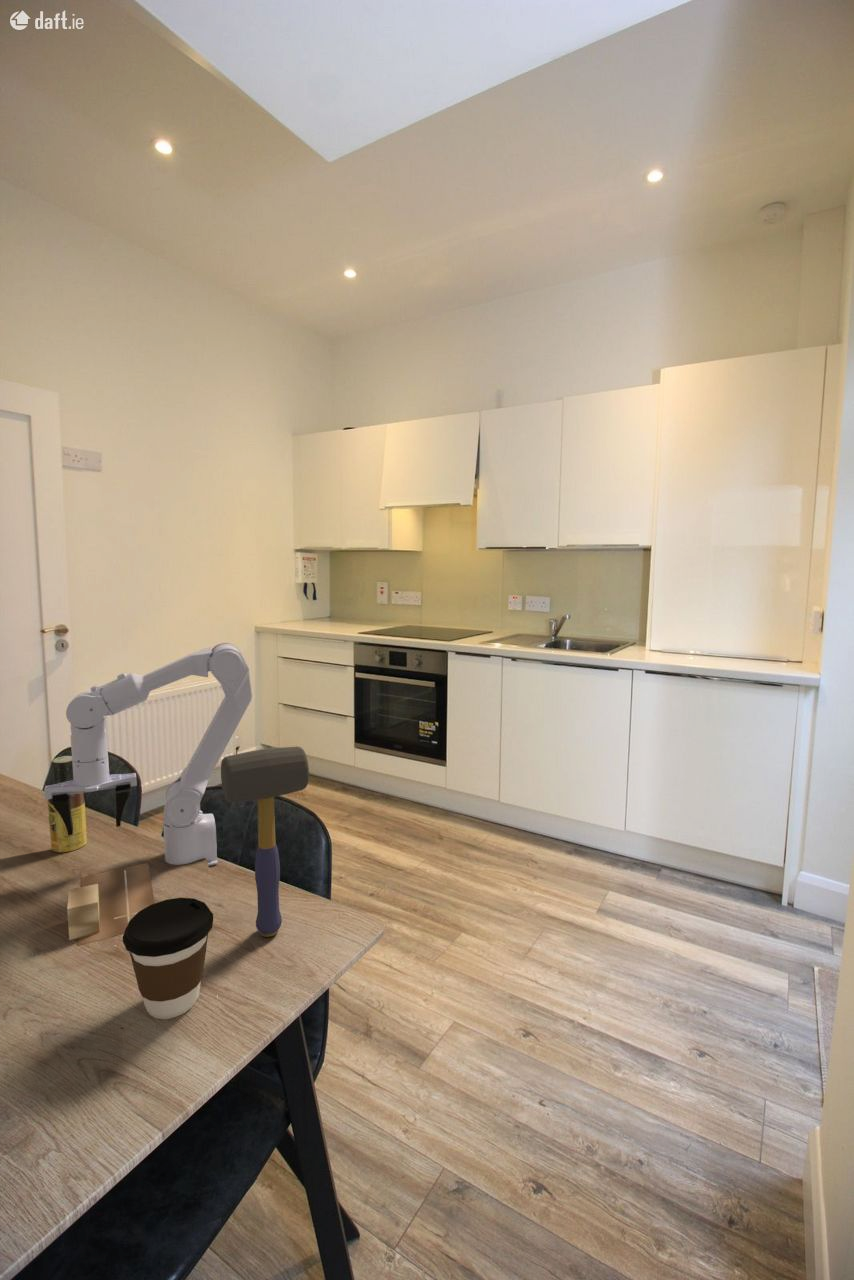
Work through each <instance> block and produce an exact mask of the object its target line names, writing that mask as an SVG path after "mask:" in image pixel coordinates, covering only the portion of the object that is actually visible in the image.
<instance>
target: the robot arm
mask: <svg viewBox="0 0 854 1280" xmlns="http://www.w3.org/2000/svg"><path fill="white" fill-rule="evenodd" d="M209 672H210V673H211V674H212V676H213V677H214V678H215V679H216V681H217V682H218V683H219V684H220V685H221V689H222V691H223V694H224V697H223V699H222V701H221V703H220V705H219V706H218V708H217V710H216V712H215V714H214V716H213V718H212V720H211V721H210V723H209V725H208V726H207V728H206V731H205V732H204V734H203V736H202V738H201V739H200V742H199V743H198V745H197V747H196V749H195V751H194V753H193V754H192V756H191V759H189V762H188V764H187V766H186V767H185V768H184V769H183V770H182V771H181V773H180V775H179V777H178V778H176V779H175V780H174V781H173V782H171V783H170V784H169V785H168V787H167V789H166V791H165V804H164V806H163V807H164V808H163V818H162V824H163V825H162V826H163V842H164V843H163V845H164V846H163V847H164V849H163V850H164V861H165V862H166V863H168V864H169V865H179V866H181V865H187V864H190V863H193V862H197V861H200V860H203V859H205V860H206V864H207V865H208V867H209V866H215V865H217V864H218V863H219V861H218V854H217V853H218V851H217V849H218V848H217V847H218V846H217V828H216V820H215V816H214V814H213V813H203V811H202V810H201V800H202V798H203V796H204V795H205V793H206V788H207V785H208V783H209V780H210V778H211V776H212V774H213V773H214V770H215V769H216V766H217V765H218V763H219V761H220V759H221V758H222V755H223V754H224V752H225V750H226V748H227V746H228V745H229V742H230V740H231V739H232V737H233V735H234V733H235V731H236V730H237V728H238V725H239V723H240V722H241V720H242V719H243V716H244V715H245V713H246V711H247V709H248V707H249V706H250V703H251V702H252V698H253V694H252V687H251V686H252V684H251V678H250V677H251V676H250V668H249V666H248V664H247V662H246V659H245V657H244V656H243V655H242V652H241V650H240V649H239V648H238V647H237V645H235V644H232V643H230V642H221V643H217V644H216V645H214V646H213V647H211V646H210V647H205V648H202V649H199V650H197V651H194V652H192V653H190V654H187V655H185V656H183V657H180V658H179V659H176V660H174V661H172V662H169V663H167V664H165V665H163V666H162V667H159V668H157V669H155V670H153V671H149V672H147V673H146V674H144V675H141V674H137V673H135V672H131V673H129V674H126V672H122V673H120V674H118V675H117V677H116V678H117V679H114V680H112V681H110V682H107V683H105V684H102V685H101V686H98V685H97V684H96V685H93V686H91V687H90V690H86V691H82V692H80V693H79V694H77V695H76V696H75V697H74V698H73V699H72V700H71V701H70V702H69V704H68V705H67V707H66V710H65V715H66V719H67V721H68V722H69V724H70V733H71V734H70V746H71V747H70V748H71V756H72V765H73V779H74V780H71V781H67V782H63V783H59V784H54V785H53V784H50V785H44V799H45V800H47V801H48V799H52V798H53V802H52V804H53V806H54V808H55V809H56V810H57V812H58V813H59V814H60V816H61V818H62V819H63V821H64V823H65V826H66V828H67V832H68V835H73V823H72V816H71V806H70V795H72V794H78V793H83V794H84V793H85V794H86V793H91V792H96V791H104V790H110V789H115V803H116V804H115V805H116V807H115V826H116V827H121V826H122V824H121V823H122V817H123V812H124V809H125V806H126V804H127V801H128V799H129V797H130V795H131V787H137V786H138V785H137V784H138V783H137V773H136V772H133V773H118V774H117V773H116V774H115V773H114V774H110V766H109V765H110V763H109V751H108V749H109V748H108V747H109V746H108V733H107V732H108V731H107V729H106V718H105V717H106V716H114V715H116V714H119V713H121V712H123V711H125V710H127V709H130V708H132V707H135V706H137V705H139V704H141V703H144V702H146V701H147V700H148V698H149V695H150V693H151V691H154V690H157V689H160V688H161V687H164V686H167V685H169V684H172V683H175V682H177V681H181V680H182V679H185V678H187V677H190V676H198V677H203V678H209Z"/></svg>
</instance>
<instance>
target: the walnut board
mask: <svg viewBox="0 0 854 1280" xmlns="http://www.w3.org/2000/svg"><path fill="white" fill-rule="evenodd" d="M151 877H152V876H151V871H150V865H149V862H145V863H142V864H137V865H133V866H128V867H123V868H118V869H114V870H109V871H104V872H99V873H96V874H95V873H94V874H91V875H85V876H82V877H81V878H80V879H81V880H80V887H85V886H89V885H94V884H98V892H99V908H100V932H99V933H95V934H91V935H87V936H83V937H80V938H76V939H77V940H76V946H77V947H79V946H81V945H82V946H83V945H87V944H89V943H94V942H97V941H101V940H104V939H108V938H113V937H115V936H119V935H121V936H122V935H124V932H125V929H126V927H127V926H128V923H129V921H130V920H131V919H132V918H133V917H134V916H135V915H136V914H137V913H138V912H139V911H141V910H143V909H144V908H146V907H148V906H150V905H152V904H155V903H156V902H155V897H154V891H153V884H152V878H151Z"/></svg>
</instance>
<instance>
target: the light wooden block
mask: <svg viewBox="0 0 854 1280" xmlns="http://www.w3.org/2000/svg"><path fill="white" fill-rule="evenodd" d="M67 897H68V898H67V908H66V911H67V926H68V940H69V941H73V940H76V939H78V938H80V937H83V936H87V935H91V934H95V933H99V932H100V908H99V892H98V884H94V885H89V886H85V887H81V886H80V887H76V888H72V889H69V890H68V896H67Z"/></svg>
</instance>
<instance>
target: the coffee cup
mask: <svg viewBox="0 0 854 1280" xmlns="http://www.w3.org/2000/svg"><path fill="white" fill-rule="evenodd" d="M213 924H214V913H212V910H211V909H210V908H209V906H208V905H207V904H206V903H205V902H204V901H202V900H199V899H196V898H192V897H175V898H169V899H164V900H161V901H159V902H155V904H152V905H150V906H148V907H146V908H144V909H143V910H141V911H139V912H138V913H137V914H136V915H135V916H134V917H133V918H132V919H131V920H130V921H129V923H128V926H127V927H126V929H125V932H124V934H122V935H123V936H122V943H123V946H124V947H125V950H126V951H128V952H129V955H130V959H131V964H132V966H133V967H132V968H133V972H134V976H135V978H136V979H135V980H136V982H137V983H136V984H137V987H138V990H139V993H140V995H141V997H142V1000H143V1005H144V1007H145V1010H146V1012H147V1013H148V1014H149V1015H150V1016H151V1017H153V1018H155V1019H157V1020H158V1019H159V1020H160V1019H161V1020H168V1019H175V1018H177V1017H179V1016H180V1015H183V1014H185V1013H186V1012H188V1011H189V1010H190V1009H191V1008H193V1006H194V1004H195V1003H196V1002H197V1000H198V998H199V996H200V990H201V981H202V980H203V978H204V977H203V976H204V969H205V962H206V955H207V953H206V952H207V948H208V947H207V945H208V938H209V933H210V932H211V930H212V928H213V927H214V926H213Z"/></svg>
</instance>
